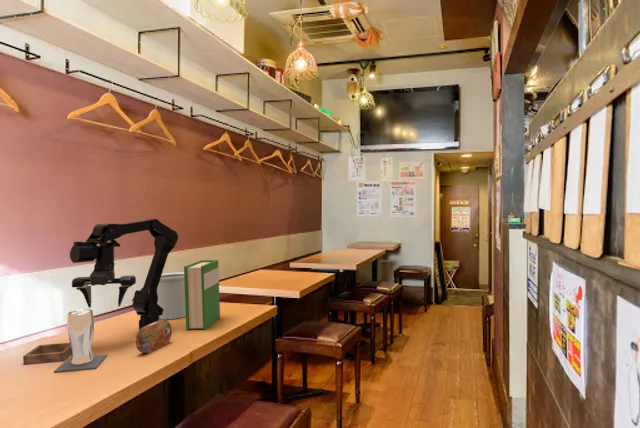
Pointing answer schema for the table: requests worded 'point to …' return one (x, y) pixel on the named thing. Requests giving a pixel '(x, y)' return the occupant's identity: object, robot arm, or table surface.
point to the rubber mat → (68, 367)
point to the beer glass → (81, 335)
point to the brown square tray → (48, 353)
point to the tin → (153, 336)
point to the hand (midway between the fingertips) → (104, 306)
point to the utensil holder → (172, 295)
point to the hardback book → (202, 294)
